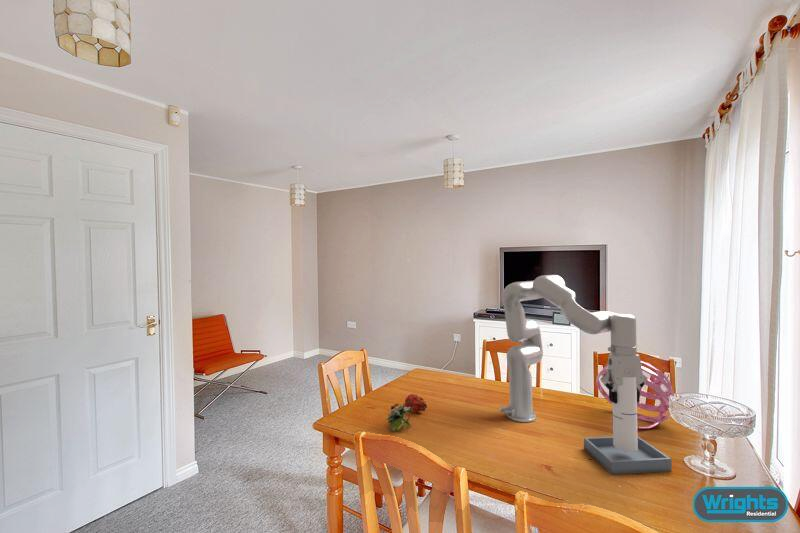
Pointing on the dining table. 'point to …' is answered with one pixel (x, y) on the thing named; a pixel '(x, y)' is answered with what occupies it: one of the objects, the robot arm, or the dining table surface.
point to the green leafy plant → (398, 417)
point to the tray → (627, 456)
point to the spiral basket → (649, 395)
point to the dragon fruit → (415, 403)
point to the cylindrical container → (625, 416)
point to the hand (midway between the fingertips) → (624, 401)
